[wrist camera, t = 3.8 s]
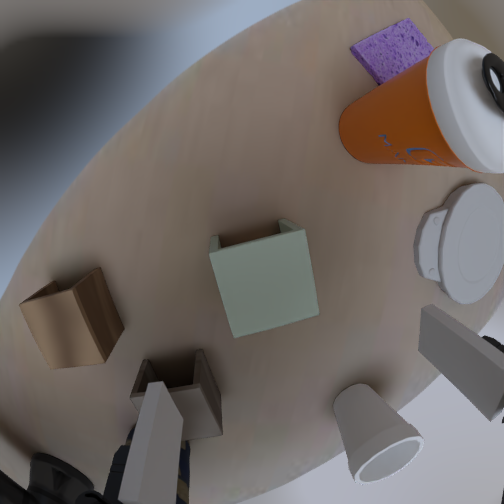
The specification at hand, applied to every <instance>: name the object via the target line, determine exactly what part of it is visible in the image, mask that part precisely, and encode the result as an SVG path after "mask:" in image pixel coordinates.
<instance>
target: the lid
mask: <svg viewBox="0 0 504 504" xmlns="http://www.w3.org/2000/svg"><path fill="white" fill-rule="evenodd" d="M414 262H415V265H416V267H417V270H418V273H419V275H420V276H422V277H424V278H428V279H431V280H435V281H437V283H438V284H439V286H440V288H441V289H442V290H443V291H445V292H446V293H447V295H448V296H449V298H451V299H453V300H454V301H456V302H457V303H459V304H471V303H473V302H475V301H477V300H479V299H481V298H482V297H483V296H484V295H485V294H486V293H487V292H488V291H489V290H490V289H491V287H492V286H493V284H494V283H495V281H496V279H497V278H498V276H499V274H500V271H501V269H502V266H503V264H504V203H503V200H502V198H501V196H500V195H499V194H498V193H497V191H496V190H495V189H494V188H493V187H491V186H489V185H487V184H485V183H474V184H470V185H466V186H461V187H459V188H458V189H457V190H455V191H454V192H452V193H451V194H450V196H449V197H448V199H447V200H446V201H445V203H444V204H443V206H442V207H439V208H437V209H434V210H431V211H429V212H426V213H425V214H424V216H423V218H422V220H421V222H420V224H419V226H418V228H417V231H416V236H415V241H414Z"/></svg>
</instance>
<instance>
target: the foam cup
mask: <svg viewBox="0 0 504 504" xmlns="http://www.w3.org/2000/svg"><path fill="white" fill-rule="evenodd" d="M333 408H334V412H335V416H336V419H337V423H338V426H339V430H340V433H341V437H342V440H343V443H344V447H345V450H346V454H347V457H348V465H349V470H350V472H351V474H352V476H353V479H354V481H355V482H356V483H359V484H362V485H364V484H370V483H375V482H378V481H381V480H383V479H385V478H388V477H390V476H392V475H393V474H395V473H397V472H398V471H400V470H402V469H403V468H404V467H406V466H407V465H408V464H409V463H410V462H411V461H412V460H414V459H415V458H416V456H417V455H418V454H419V452H420V451H421V450H422V448H423V444H424V439H423V437H422V436H421V435H420V433H419V432H418V431H417V430H416V428H415V427H413V426H412V425H411V424H408V423H407V422H406V421H405V420H404V419H403V418H402V417H401V416H400V415H399V414H398V413H397V412H396V411H395V410H394V409H393V408H392V407H390V406H389V405H388V404H387V403H386V402H385V401H384V400H383V399H382V398H381V397H380V396H379V395H378V394H377V393H376V392H375V391H374V390H373V389H372V388H371V387H369V386H368V385H367V384H356V385H353V386H350V387H348V388H347V389H345V390H343V391H342V392H341V393H340V394H339V395H338V396H337V397H336V399H335V401H334V404H333Z"/></svg>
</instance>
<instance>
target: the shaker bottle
mask: <svg viewBox="0 0 504 504" xmlns="http://www.w3.org/2000/svg"><path fill="white" fill-rule="evenodd" d="M339 133H340V137H341V140H342V143H343V145H344V146H345V148H346V149H347V151H348V152H349V153H350V154H351V155H352V156H353V157H355V158H356V159H358V160H359V161H362V162H365V163H371V164H414V165H415V164H416V165H434V166H450V167H461V168H469V169H471V170H472V171H475V172H479V173H504V62H503V61H502V60H501V59H500V58H499V57H498V56H497V55H495V54H493V53H492V52H491V51H489V50H488V49H487V48H485V47H484V46H482V45H479V44H477V43H474V42H472V41H469V40H467V39H455V40H452V41H450V42H448V43H446V44H444V45H441V46H438V47H436V48H435V49H434V50H433V51H432V52H431V53H430V55H429V56H428V57H426V58H424V59H423V60H421V61H419V62H417V63H416V64H414V65H412V66H411V67H409V68H407V69H406V70H404V71H402V72H401V73H399V74H397V75H396V76H394V77H393V78H391V79H389V80H388V81H386V82H384V83H383V84H381V85H380V86H378V87H377V88H375V89H373V90H372V91H370V92H369V93H367V94H366V95H364V96H363V97H361V98H360V99H358V100H357V101H355V102H354V103H352V104H351V105H349V106H348V107H347V108H346V109H345V110H344V111H343V113H342V115H341V118H340V122H339Z"/></svg>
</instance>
